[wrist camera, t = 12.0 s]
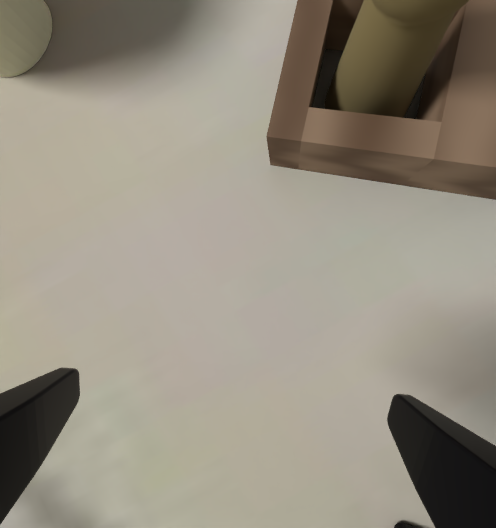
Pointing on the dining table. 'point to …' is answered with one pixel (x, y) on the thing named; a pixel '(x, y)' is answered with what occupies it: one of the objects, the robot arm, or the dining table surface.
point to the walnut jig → (387, 127)
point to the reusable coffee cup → (23, 34)
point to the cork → (389, 55)
